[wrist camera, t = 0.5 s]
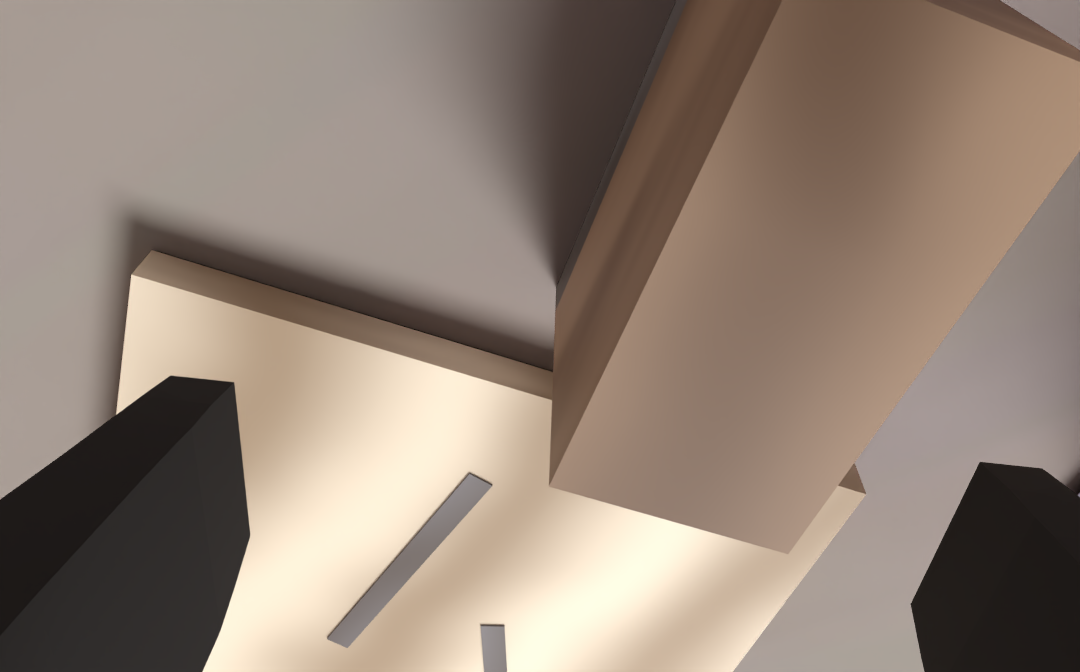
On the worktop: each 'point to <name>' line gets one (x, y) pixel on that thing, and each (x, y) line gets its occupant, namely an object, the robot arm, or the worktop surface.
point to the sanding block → (793, 245)
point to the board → (433, 504)
